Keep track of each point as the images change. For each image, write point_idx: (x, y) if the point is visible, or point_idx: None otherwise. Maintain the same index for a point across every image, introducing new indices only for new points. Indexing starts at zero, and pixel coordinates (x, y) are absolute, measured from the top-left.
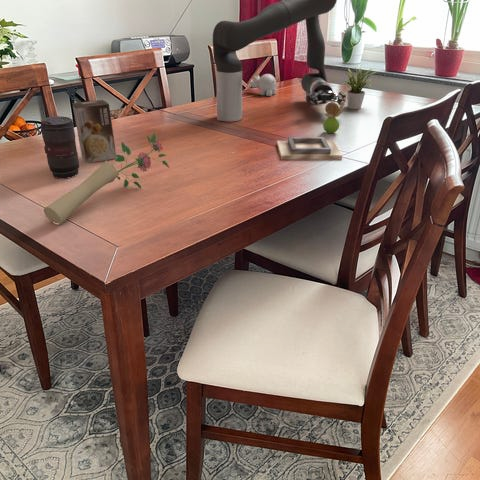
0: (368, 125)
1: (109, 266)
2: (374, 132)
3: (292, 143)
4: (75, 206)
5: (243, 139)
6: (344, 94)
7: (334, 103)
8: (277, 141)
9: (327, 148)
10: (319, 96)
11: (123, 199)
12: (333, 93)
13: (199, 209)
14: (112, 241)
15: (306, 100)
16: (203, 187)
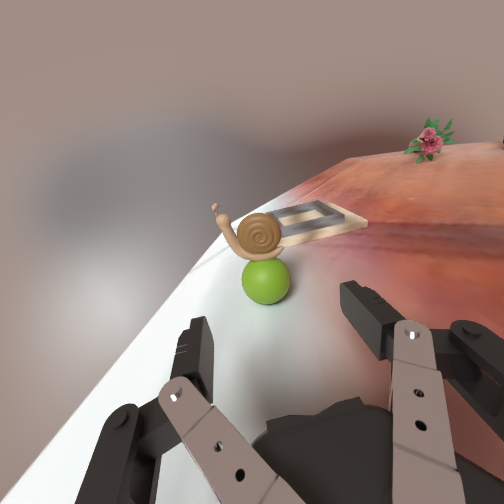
0: (105, 412)
1: (354, 158)
2: (139, 334)
3: (325, 206)
4: (412, 145)
5: (455, 221)
6: (100, 456)
7: (249, 215)
8: (364, 219)
9: (270, 212)
10: (386, 411)
11: (411, 160)
12: (225, 418)
13: (349, 171)
14: (370, 158)
15: (494, 381)
16: (370, 175)
